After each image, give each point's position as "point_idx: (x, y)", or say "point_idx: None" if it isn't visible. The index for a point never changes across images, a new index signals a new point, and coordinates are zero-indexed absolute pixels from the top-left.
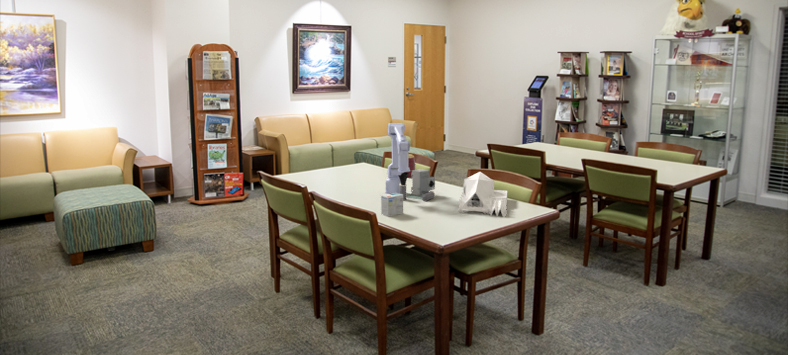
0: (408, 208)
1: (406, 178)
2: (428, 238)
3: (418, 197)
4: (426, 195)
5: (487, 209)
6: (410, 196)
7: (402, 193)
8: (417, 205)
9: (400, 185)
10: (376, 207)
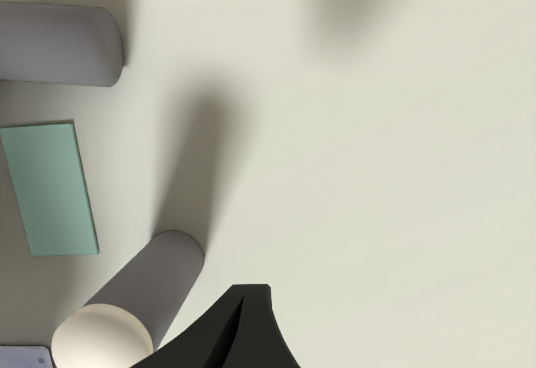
0: (470, 72)
1: (200, 347)
2: None
3: (50, 160)
4: (87, 19)
5: None
6: (61, 236)
7: (182, 281)
8: (318, 41)
9: None
10: (532, 340)
